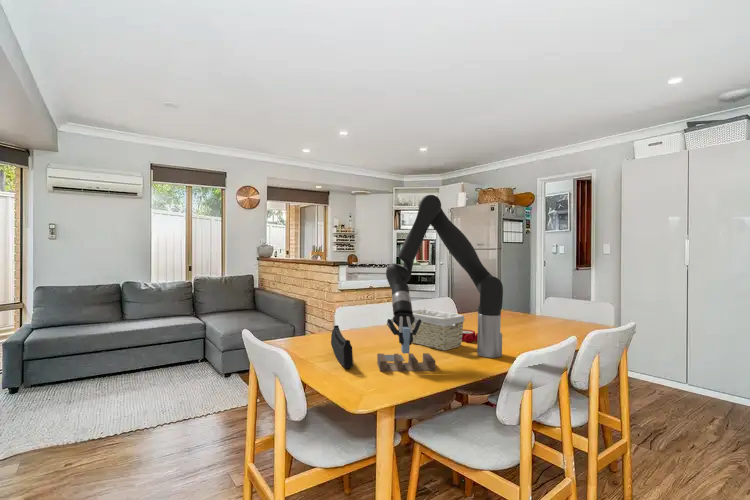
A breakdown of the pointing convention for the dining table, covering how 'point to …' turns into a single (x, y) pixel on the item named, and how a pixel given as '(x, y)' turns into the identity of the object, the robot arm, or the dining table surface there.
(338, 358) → the magazine
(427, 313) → the storage basket
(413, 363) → the rack
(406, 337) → the tile
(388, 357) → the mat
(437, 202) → the robot arm
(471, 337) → the alarm clock
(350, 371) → the dining table surface
